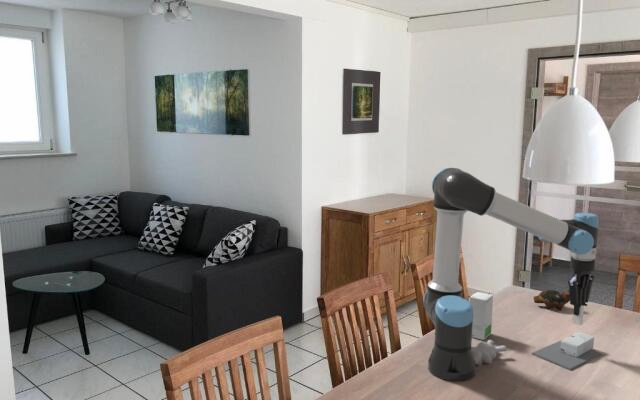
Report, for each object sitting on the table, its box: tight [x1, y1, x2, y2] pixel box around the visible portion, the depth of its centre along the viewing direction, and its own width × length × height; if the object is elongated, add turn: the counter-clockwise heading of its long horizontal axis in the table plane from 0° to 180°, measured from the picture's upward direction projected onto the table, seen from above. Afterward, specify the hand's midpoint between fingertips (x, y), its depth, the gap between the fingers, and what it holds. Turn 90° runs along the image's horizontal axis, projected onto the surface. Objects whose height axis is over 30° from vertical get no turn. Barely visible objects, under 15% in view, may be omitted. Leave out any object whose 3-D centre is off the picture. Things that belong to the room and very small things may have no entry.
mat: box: [531, 338, 603, 371], centre depth 186 cm, size 20×14×1 cm
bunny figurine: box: [471, 339, 508, 366], centre depth 182 cm, size 10×5×15 cm
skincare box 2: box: [560, 331, 595, 357], centre depth 188 cm, size 6×4×12 cm
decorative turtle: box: [532, 289, 570, 312], centre depth 230 cm, size 10×15×8 cm, turn 77°
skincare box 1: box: [469, 291, 494, 341], centre depth 201 cm, size 8×7×16 cm
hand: (577, 323), depth 187 cm, fingers closed
